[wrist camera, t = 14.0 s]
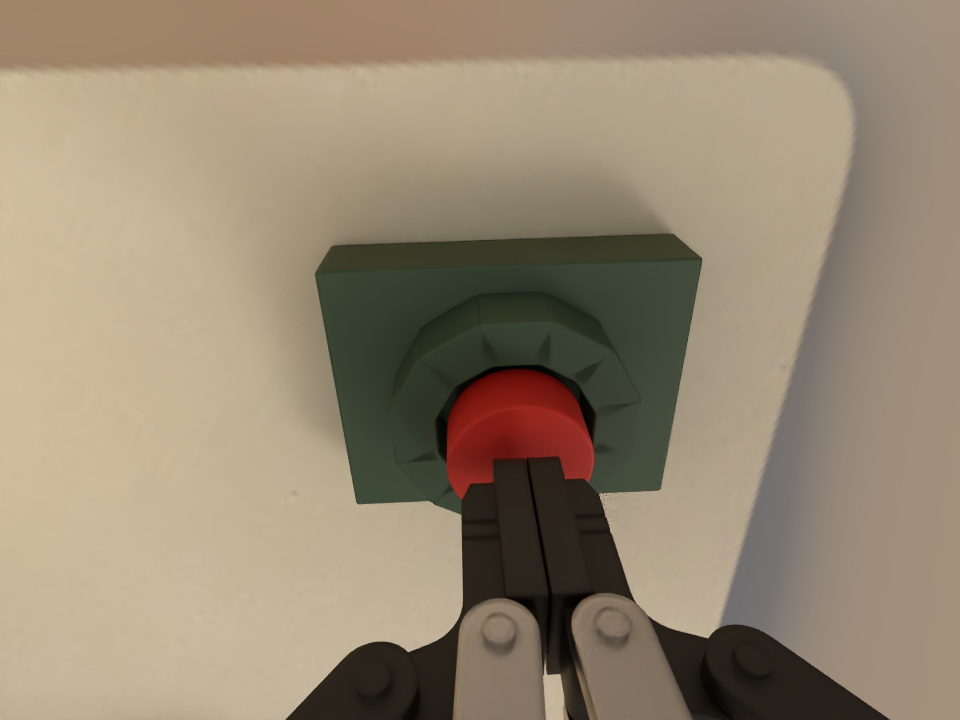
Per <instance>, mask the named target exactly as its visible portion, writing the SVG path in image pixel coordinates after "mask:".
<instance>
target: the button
mask: <svg viewBox="0 0 960 720" xmlns="http://www.w3.org/2000/svg"><path fill="white" fill-rule="evenodd" d="M550 456H559V458H560V460H561V464H562V468H563V472H564V476H565V479H579V478H584V479H585V480H586V481H587V482H588V481H589V479H590V477H591V474H592V471H593V467H594V457H595V454H594V448H593V444H592V441H591V438H590V436H589V433H588V430H587V427H586V424H585V421H584V418H583V415H582V412H581V409H580V407H579V404H578V402H577V400H576V398H575V396H574V395H573V393H572V392H571V391H570V390H569V389H568V388H567V387H566V386H565V385H564V384H563V383H561V382H560V381H559V380H557V379H555V378H554V377H552V376H550V375H547V374H545V373H542V372H539V371H535V370H529V369H507V370H502V371H497V372H494V373H491V374H488V375H486V376H484V377H482V378H480V379H478V380H477V381H475V382H473V383H472V384H471V385H469V386H468V387H467V388H466V389H465V390H464V391H463V392H462V393H461V394H460V395H459V397H458V398H457V399H456V401H455V402H454V404H453V406H452V408H451V411H450V414H449V418H448V428H447V474H448V478H449V481H450V484H451V486H452V487H453V489H454V491H455V492H456V494H457V495H458V496H459V498H460V499H461V500H462V499H463V497H464V495H465V493H466V491H467V489H468V487H469V485H470V484H472V483H493V481H492V460H493V459H508V458H525V462H526V458H528V457H550Z"/></svg>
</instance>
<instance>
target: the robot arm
mask: <svg viewBox="0 0 960 720" xmlns="http://www.w3.org/2000/svg"><path fill="white" fill-rule="evenodd" d="M492 481H493V483H472V484H470V485H469V487H468V489H467V491H466V493H465V495H464V497H463V499H462V501H461V512H462V568H463V607H462V611H461V614H460V617H459V619H458V621H457V622H456V624H455V625H454V627H453V628H452V629H451V630H450V631H449V632H448V633H447V634H446V635H445V636H443V637H442V638H440V639H439V640H437V641H435V642H433V643H431V644H429V645H426V646H423V647H421V648H418V649H416V650H413V651H411V652H407V651H406V650H405V649H404V648H402V647H400V646H399V645H396V644H394V643H390V642H372V643H368V644H365V645H363V646H361V647H359V648H356V649H355V650H354V651H352V652H351V653H349V654H348V655H347V656H346V657H345V658H344V659H343V660H342V661H341V662H340V663H339V664H338V665H337V666H336V667H335V668H334V669H333V670H332V671H331V673H330V674H329V675H328V676H327V677H326V678H325V679H324V680H323V681H322V682H321V683H320V684H319V685H318V686H317V687H316V688H315V689H314V690H313V691H312V692H311V693H310V695H309V696H308V697H307V698H306V699H305V700H304V701H303V702H302V703H301V704H300V705H299V706H298V707H297V708H296V709H295V710H294V711H293V712H292V713H291V714H290V715H289V717H288V718H287V719H286V720H546V715H545V700H544V685H543V675H544V662H545V663H546V670H547V675H551V674H561V680H562V686H563V692H564V706H563V717H564V720H889V719H888V718H887V717H885V716H884V715H882V714H881V713H880V712H878V711H877V710H875V709H874V708H872V707H871V706H869V705H868V704H867V703H865V702H864V701H862V700H861V699H860V698H858V697H857V696H855V695H854V694H852V693H851V692H849V691H848V690H847V689H845V688H844V687H842V686H841V685H839V684H838V683H837V682H835V681H834V680H832V679H831V678H829V677H828V676H827V675H825V674H824V673H822V672H821V671H819V670H818V669H817V668H815V667H814V666H812V665H811V664H809V663H808V662H806V661H805V660H804V659H802V658H801V657H799V656H798V655H796V654H795V653H794V652H792V651H791V650H789V649H788V648H787V647H785V646H783V645H782V644H781V643H779V642H778V641H776V640H775V639H773V638H772V637H771V636H769V635H767V634H766V633H764V632H762V631H760V630H758V629H755V628H752V627H749V626H744V625H726V626H723V627H720V628H719V629H717V630H715V631H714V632H713V633H712V634H711V636H710V637H709V639H708V638H704V637H700V636H696V635H692V634H688V633H684V632H680V631H676V630H673V629H670V628H667V627H665V626H663V625H661V624H659V623H657V622H656V621H654V620H653V619H651V618H650V617H649V616H647V615H646V613H645V612H644V611H643V610H642V609H641V608H640V607H639V606H638V605H637V604H636V602H635V600H634V599H633V597H632V594H631V592H630V589H629V586H628V583H627V580H626V577H625V574H624V570H623V567H622V564H621V561H620V558H619V555H618V552H617V549H616V546H615V543H614V540H613V537H612V534H611V533H610V527H609V524H608V521H607V518H606V517H605V512H604V509H603V506H602V503H601V500H600V497H599V494H598V493H597V492H596V491H595V490H594V489H593V487H592V486H591V485H590V484H589V483H588V482H587V481H586V480H585V479H584V478H579V479H565V476H564V472H563V468H562V464H561V460H560V458H559V456H550V457H528V458H526V462H525V458H508V459H493V460H492Z"/></svg>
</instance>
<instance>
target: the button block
mask: <svg viewBox="0 0 960 720" xmlns="http://www.w3.org/2000/svg"><path fill="white" fill-rule="evenodd" d="M701 264H702V258H701V257H700V256H699V255H698V254H696V253H695V252H694V251H693V250H692V249H691V248H689V247H688V246H687V245H686V244H685V243H684V242H682V241H681V240H680V239H679V238H678V237H677V236H675V235H674V234H660V235H632V236H604V237H576V238H548V239H520V240H492V241H463V242H435V243H407V244H379V245H351V246H332V247H331V248H330V250H329V251H328V253H327V255H326V256H325V258H324V259H323V261H322V263H321V264H320V266H319V267H318V269H317V271H316V273H315V277H316V283H317V288H318V294H319V299H320V305H321V310H322V316H323V321H324V327H325V332H326V338H327V343H328V349H329V354H330V360H331V365H332V371H333V376H334V382H335V387H336V393H337V398H338V404H339V409H340V415H341V420H342V426H343V431H344V437H345V442H346V448H347V453H348V459H349V464H350V470H351V475H352V481H353V486H354V492H355V497H356V502H357V504H374V503H396V502H418V501H430V502H433V504H434V505H437V506H440V507H442V508H445V509H448V510H451V511H453V512H456V513H459V514H461V515H462V512H461V501H462V500H461V499H460V498H459V496H458V495H457V494H456V492H455V491H454V489H453V487H452V486H451V484H450V481H449V478H448V474H447V428H448V418H449V414H450V411H451V408H452V406H453V404H454V402H455V401H456V399H457V398H458V397H459V395H460V394H461V393H462V392H463V391H464V390H465V389H466V388H467V387H468V386H469V385H471V384H472V383H473V382H475V381H477V380H478V379H480V378H482V377H484V376H486V375H488V374H491V373H494V372H497V371H502V370H507V369H529V370H535V371H539V372H542V373H545V374H547V375H550V376H552V377H554V378H555V379H557V380H559V381H560V382H561V383H563V384H564V385H565V386H566V387H567V388H568V389H569V390H570V391H571V392H572V393H573V395H574V396H575V398H576V400H577V402H578V404H579V407H580V409H581V412H582V415H583V418H584V421H585V424H586V427H587V430H588V433H589V436H590V438H591V441H592V444H593V448H594V454H595V457H594V467H593V471H592V474H591V477H590V479H589V481H588V483H589V484H590V485H591V486H592V487H593V489H594V490H595V491H596V492H597V493H598V494H600V493H615V492H637V491H658V490H660V489H661V484H662V478H663V473H664V467H665V462H666V456H667V451H668V446H669V440H670V435H671V429H672V424H673V418H674V413H675V407H676V402H677V396H678V391H679V385H680V380H681V374H682V369H683V363H684V358H685V352H686V347H687V341H688V336H689V330H690V325H691V319H692V314H693V308H694V303H695V297H696V292H697V286H698V281H699V275H700V270H701Z"/></svg>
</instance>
